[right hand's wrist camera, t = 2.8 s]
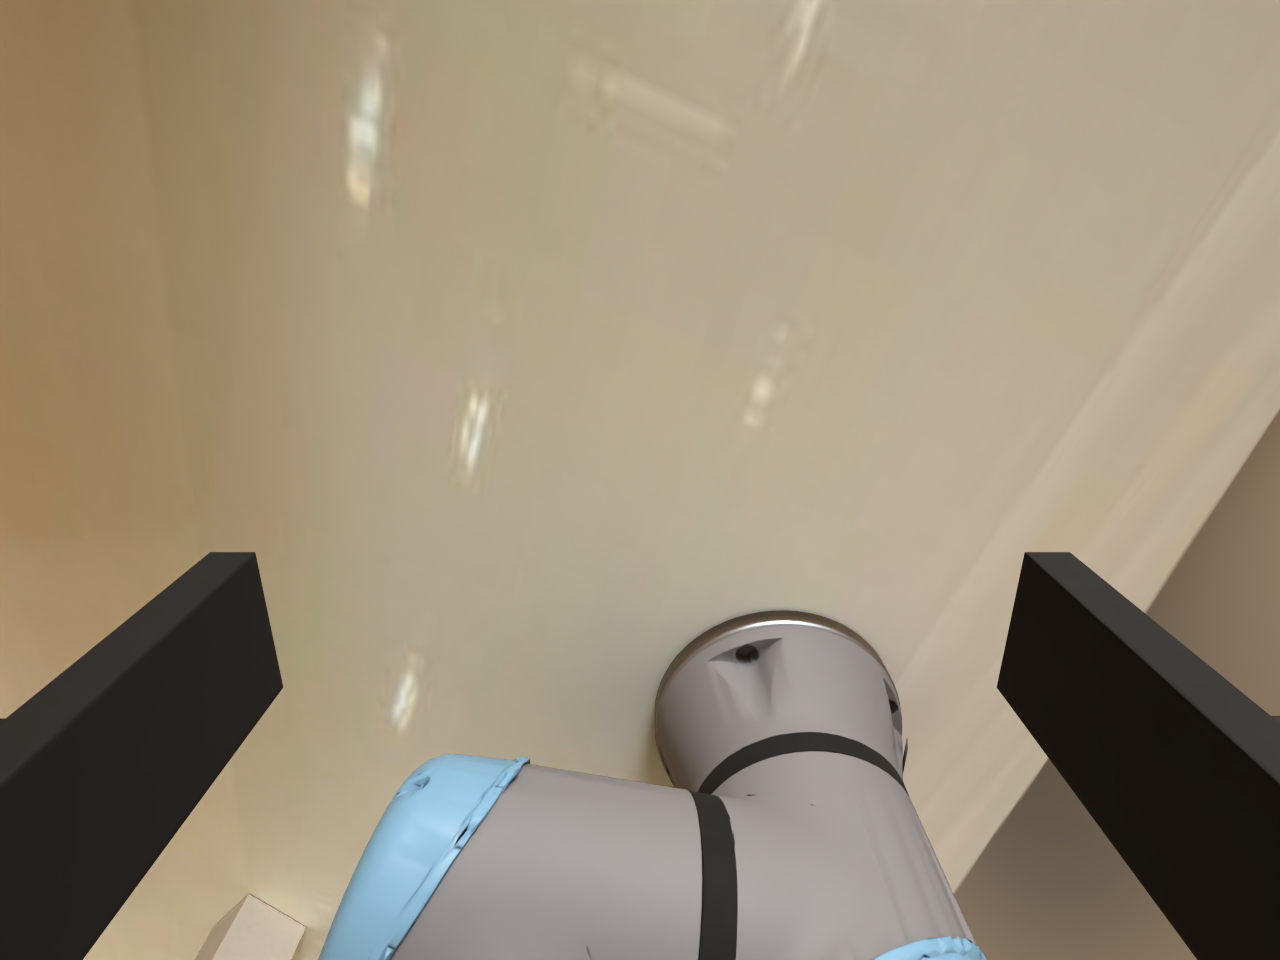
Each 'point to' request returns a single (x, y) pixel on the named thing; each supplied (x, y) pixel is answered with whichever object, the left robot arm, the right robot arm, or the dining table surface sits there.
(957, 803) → the dining table surface
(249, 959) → the block
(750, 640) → the right robot arm
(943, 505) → the dining table surface
